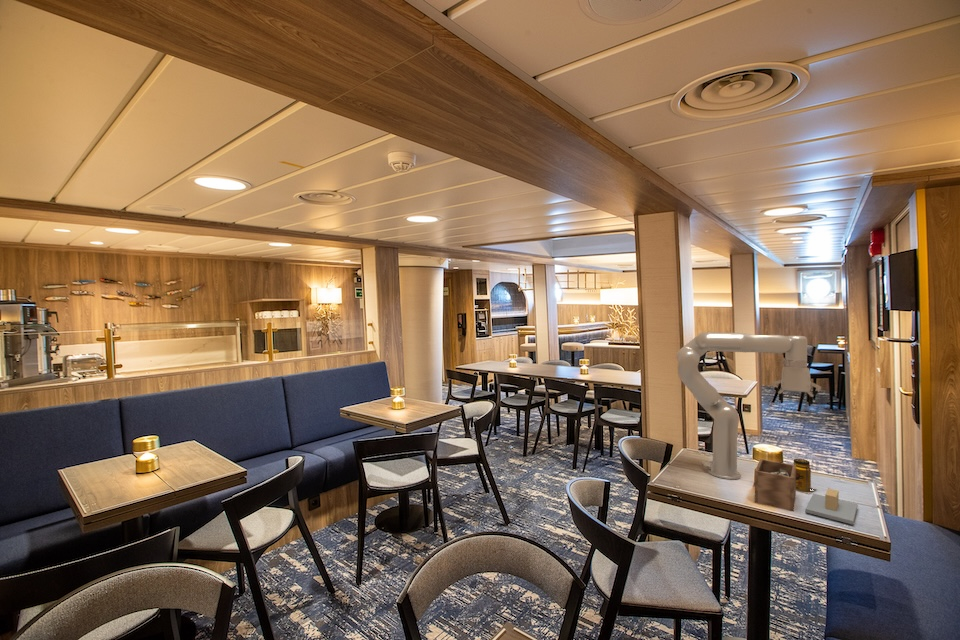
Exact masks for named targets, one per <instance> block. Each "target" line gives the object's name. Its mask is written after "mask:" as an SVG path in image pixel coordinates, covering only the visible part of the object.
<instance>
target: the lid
mask: <svg viewBox="0 0 960 640" xmlns="http://www.w3.org/2000/svg"><path fill="white" fill-rule="evenodd" d="M839 493H840V491H839V490H837V489H833V488H827V489H826V492H825V494H824V495H821V494H819V493H818V494H817V493H813V494H812V496H811V497H810V500H809V501H808V503H807V505H806V506H805V513H808V514H811V515H815V516H819V517H822V518H827V519H830V520H833V521H839V522H841V523H842V522H843V523H845V524H849V525H854V522H855V518H856V516H857V511H858V508H859V507H858V506H859V504H858V503H855V502H851V501H846V500H843V499H839V496H840V495H839Z"/></svg>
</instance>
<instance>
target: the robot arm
mask: <svg viewBox="0 0 960 640" xmlns="http://www.w3.org/2000/svg"><path fill="white" fill-rule="evenodd" d="M708 352H725V353H726V352H729V353H731V352H732V353H760V354H761V353H764V354H784V355H785V359H784V360H780V361H781V362H780V364H781V365H784V366H783V367H782V370H781V377H780V379H778V380H776V381H773V382H771V383H770V384H771V387H773V389H774V390H775V391H776V392H777V393H778V401H779V402H780V404H784V393H783V392H785V391H789V392H798V393H799V392H800V393H807V395H808V406H809V407H811V406H812V405H813V404H814V403H813V402H814V396H816V395H818V394H819V392H820V391H821V390H822V386H820V385H818V384H816V383H815V382H813V381H811V371H810V368H809V367H808V338H807V337H806V336H804V335H781V334H769V335H767V334H766V335H764V334H751V333H743V332H716V331H715V332H711V331H710V332H709V331H703V332H701V333H699V334H697V335H696V336H695V337H694V338H692V339H691V340H690V341H689V342H688V343H685V345H683V346H682V347H681V348H680V349H679V350H678V351H677V353H676V360H677V362H678V363H677V369H676V370H677V374H678V377H679V379H680V380H681V382H682V383H683V385H685V387H686V389H688V391H690V393H691V394H692V396H693V398H694V399H695V401H696V402H697V403H699V405H700V406H701V408H703V409H704V410H705V411H706V412H707V414H709V416H710V417H711V418H712V419H713V428H712V461H707V460H702V462H701V465H702V466H703V467H705V468H709V469H708V473H709V474H710V475H711V476H714V477H717V478H721V479H723V480H725V479H726V480H738V479H740V478H741V477H742V474H741V472H739V471H738V427H739V423H740V416H739V413H738V410H737V409H736V408H735V407H734V406H732V405H731V404H730V403H728V402H727V401H726V400H725V399H724V398H723V396H721V394H719V392H718V390H717V389H716V388H715V387H714V385H712V384H711V383H709V381H708V380H707V379H706V378H705V377H704V376H703V375H702V374H701V372H700V371H699V367H698V366H699V363H700V361H701V360H700V359H701V357H702V356H703V355H705V354H706V353H708ZM779 384H780V387H781V389H780V388H778V386H777V385H779ZM812 387H813V388H816V389H815V390H814V391H811V388H812Z"/></svg>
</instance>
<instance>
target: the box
mask: <svg viewBox="0 0 960 640" xmlns="http://www.w3.org/2000/svg"><path fill="white" fill-rule="evenodd" d="M780 469H782V470H784V471H786V472H787V473H788V475H789V477H788V476H783V475H778V474H772V473H769V472H778V471H780ZM796 494H797V491H796V465H794V464H790V463H785V462H779V461H775V460H768V459H763V458H759V461H758V463H757V465H756V468H755V470H754V503H755V504H756V503H757V504H759V505H763V506H764V505H765V506H768V507H773V508H778V509H781V510H787V511H790V512H794V511H795V505H796V503H795V502H796V498H797V497H796V496H797V495H796Z"/></svg>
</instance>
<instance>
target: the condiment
mask: <svg viewBox="0 0 960 640" xmlns="http://www.w3.org/2000/svg"><path fill="white" fill-rule="evenodd" d="M810 464H811V463H810V461H809V460H808V459H803V458H794V459H793V465H796V492H800V493H804V494H808V495H809V494H812V493H814V492H816V491H817V490H818V489H817V488H814V489H813V487H812V484H811V483H812V482H811V481H812V480H811V479H812V470H811V468H810V467H811V465H810ZM810 489H811V490H812V489H813V490H814V491H810Z"/></svg>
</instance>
